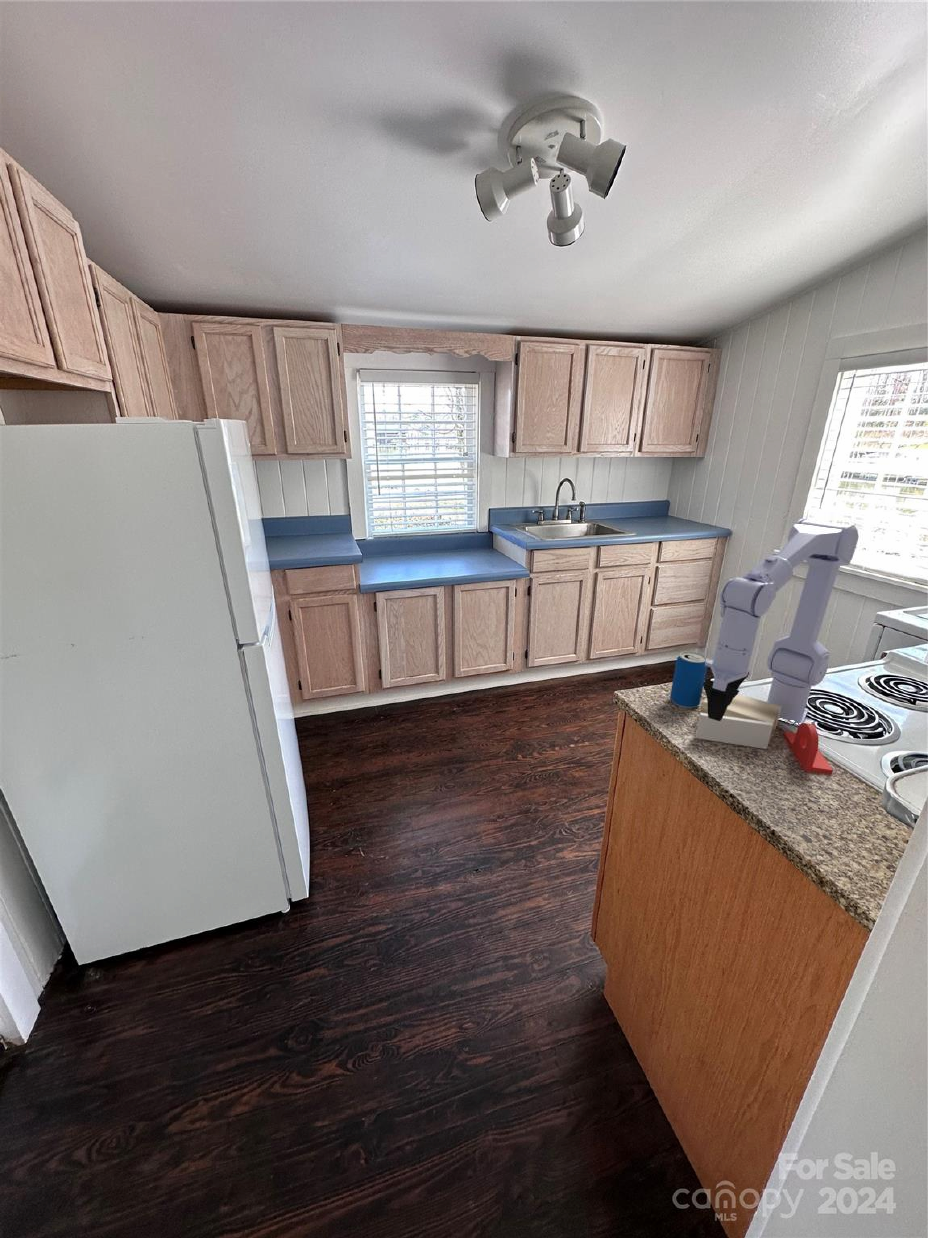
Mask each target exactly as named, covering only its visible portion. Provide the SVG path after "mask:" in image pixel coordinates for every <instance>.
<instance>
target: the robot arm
mask: <svg viewBox="0 0 928 1238" xmlns="http://www.w3.org/2000/svg"><path fill="white" fill-rule="evenodd" d="M858 541H859V530H858V528H857V527H856V525H854V524H842V523H833V522H825V521H817V520H810V519H806V518H799V519H798V520H797V521H796V522H794V524H793V525H792V526H791V528H790V530H789V532H788V538H787V543H786V544H785V545H784V546H783V547H782V548H781V549H780V550H779V552H777V554H776V555H768V556H766V557H764V558H762V559H761V560H760V561H759V562H758V563H757V564H756V565H755V566H753V567H752V568H751V569H750V570H749V571H748V572H747V573H745V574H744V575H743V576H742V577H735V578H732V579H729V580H727V582H726V583H725V585H724V587H723V588H722V591H721V593H720V596H719V602H720V612H719V613H720V617H721V619H722V621H721V625H720V628H719V629H720V630H719V633H718V638H717V643H716V647H715V651H714V656H713V659H706V662H705V665H706V666H707V668H710V669H711V672H712V675H713V677H714V680H711V679H707V678H705V680H704V684H703V690H704V691H705V695H706V697H707V704H708V718H711V719H714V720H717V721H721V719H722V718H723V716H724V714H725V712H726V709H727V707H728V706H729V705H730V704H731V702H732V700H733V698H734V697H735V696H736V695H737V694H740V690H739V688H740V686H741V685H742V683H743V682H744V681H745V680H746V679H747V678H748V677H749V675H750V671H749V665H750V662H751V657H752V653H753V649H754V645H755V642H756V637H757V635H758V634H757V633H758V630H759V626H760V623H761V618H762V616H763V615H765V614H767V612H768V610H769V609H770V607H771V605H772V603H773V602H774V600H775V599H776V596H777V595H776V594H777V593H778V591H780V590H781V589H782V588H783V587H784V586H785V585H786V584H787V583H789V581H791V580H792V578H793V575H794V569H795V568H797V566H799V565H800V564H802V563H803V562H804V561H805V562H806V563H807V565H808V568H807V573H806V576H805V579H804V584H803V587H802V590H801V595H800V598H799V601H798V606H797V608H796V612H795V616H794V619H793V623H792V627H791V630H790V634H789V635H786V636H783V637H781V638H779V639H777V640H776V641H775V642H774V645H773V647H772V650H771V651H770V652H769V655H768V657H767V661H766V665H767V668H768V670H769V671H771V672H770V676H771V677H772V681H771V684H770V689H769V692H768V696H767V700H766V702H768V703H771V704H774V705H778V706H781V707H782V708H781V711H780V715H779V718H783V719H787V720H794V721H795V722H794V723H798V725H800V724H799V723H804V722H805V719H806V716H807V715H808V712H809V709H808V708H807V704H808V699H809V696H810V693H811V690H812V687H813V686H814V687H815V686H817V685H819V684H820V683H821V682H822V681H823V680H824V678H825V676H826V675H827V671H828V668H829V664H828V663H829V657H830V652H829V650H828V649H827V648H826V647H825V646H824V645H823V644H822V643H821V642H820V641H819V640H818V638H819V634H820V631H821V629H822V624H823V621H824V619H825V618H824V617H825V614H826V611H827V607H828V605H829V601H830V597H831V594H832V590H833V589H834V588H833V587H834V585H835V581H836V577H837V574H838V572H839V570H840V567H843V566H849V565H851V564H850V563H851V561H852V560H853V557H854V554H855V551H856V547H857V545H858ZM803 721H804V722H803Z"/></svg>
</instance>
